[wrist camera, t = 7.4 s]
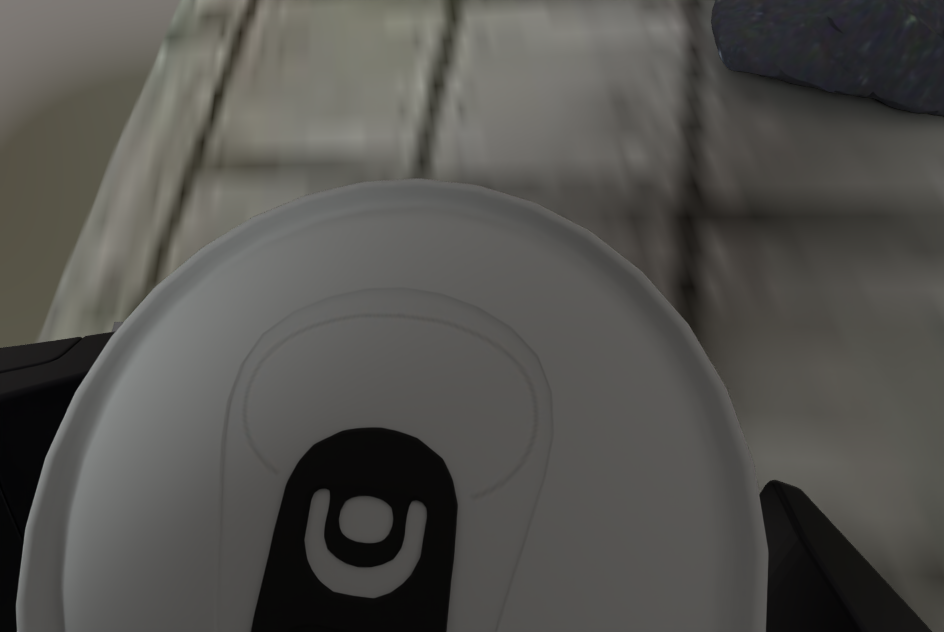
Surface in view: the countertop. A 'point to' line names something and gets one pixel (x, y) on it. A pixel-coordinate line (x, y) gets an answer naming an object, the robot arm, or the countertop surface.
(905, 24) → the dark slate chunk
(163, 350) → the energy drink can
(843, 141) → the countertop surface
